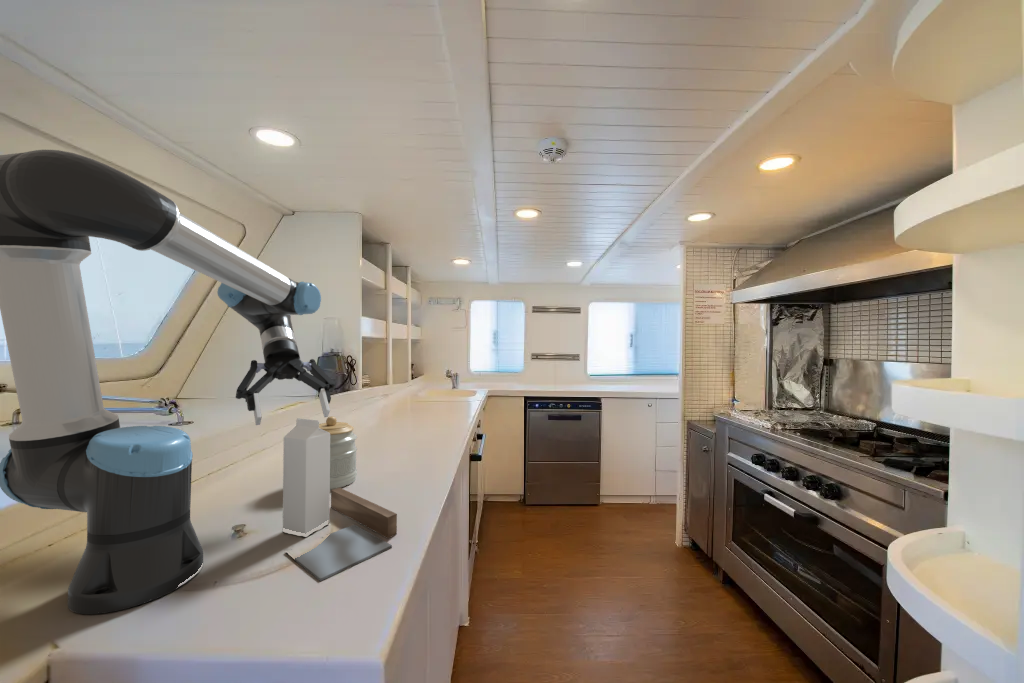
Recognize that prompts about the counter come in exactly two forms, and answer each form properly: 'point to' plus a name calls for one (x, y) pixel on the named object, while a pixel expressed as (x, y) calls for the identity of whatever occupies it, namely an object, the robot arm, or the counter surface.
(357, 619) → the counter surface
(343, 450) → the jar
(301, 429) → the milk
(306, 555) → the guide jig
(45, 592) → the counter surface
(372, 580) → the counter surface
